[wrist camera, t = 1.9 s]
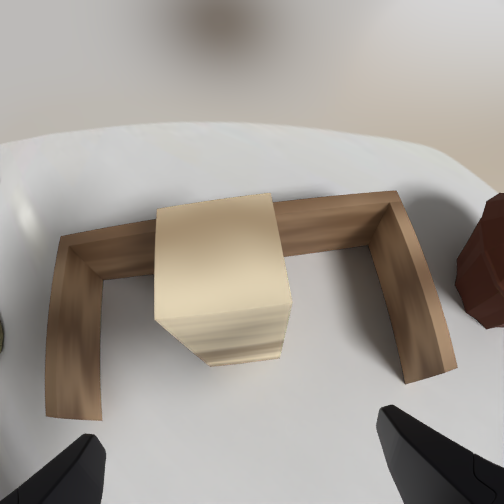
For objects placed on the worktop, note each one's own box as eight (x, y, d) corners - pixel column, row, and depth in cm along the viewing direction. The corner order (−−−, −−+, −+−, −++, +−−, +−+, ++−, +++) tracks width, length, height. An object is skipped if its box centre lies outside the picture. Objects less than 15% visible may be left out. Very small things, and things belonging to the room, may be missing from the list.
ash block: (279, 358, 21) (292, 302, 11) (210, 366, 21) (154, 319, 11) (269, 294, 24) (270, 192, 13) (204, 302, 24) (156, 209, 13)
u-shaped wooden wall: (416, 380, 20) (457, 367, 14) (91, 419, 19) (45, 416, 14) (374, 233, 26) (396, 190, 21) (94, 271, 25) (60, 236, 20)
